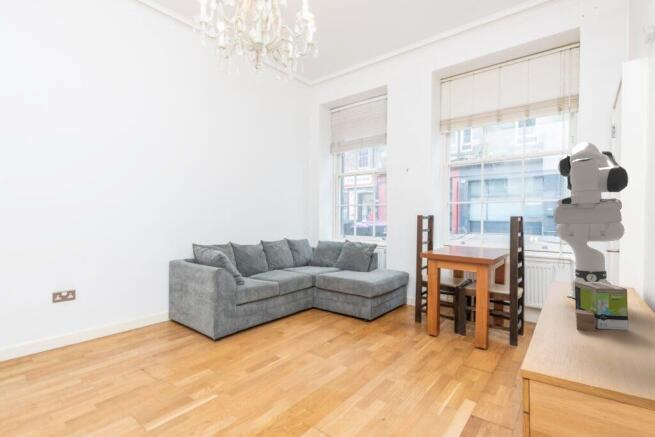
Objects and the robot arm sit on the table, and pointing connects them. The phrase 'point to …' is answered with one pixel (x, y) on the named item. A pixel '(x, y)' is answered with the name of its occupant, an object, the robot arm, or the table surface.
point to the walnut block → (585, 320)
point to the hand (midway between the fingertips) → (586, 235)
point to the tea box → (603, 304)
